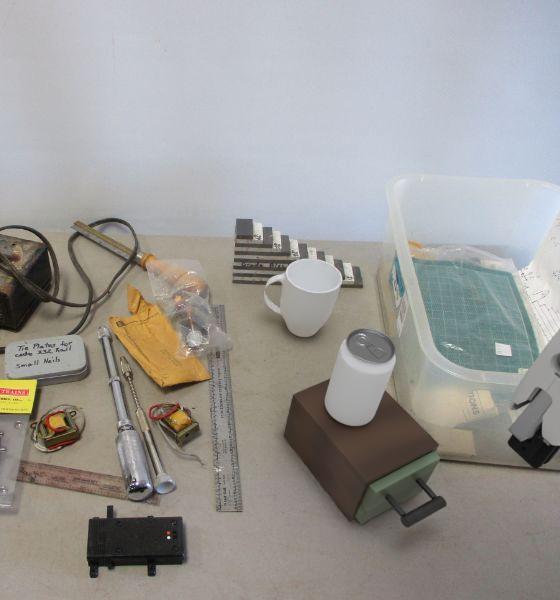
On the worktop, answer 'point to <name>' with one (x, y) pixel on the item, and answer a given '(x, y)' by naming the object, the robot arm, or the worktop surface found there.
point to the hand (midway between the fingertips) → (526, 453)
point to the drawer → (402, 492)
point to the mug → (306, 295)
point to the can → (360, 376)
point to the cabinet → (352, 445)
